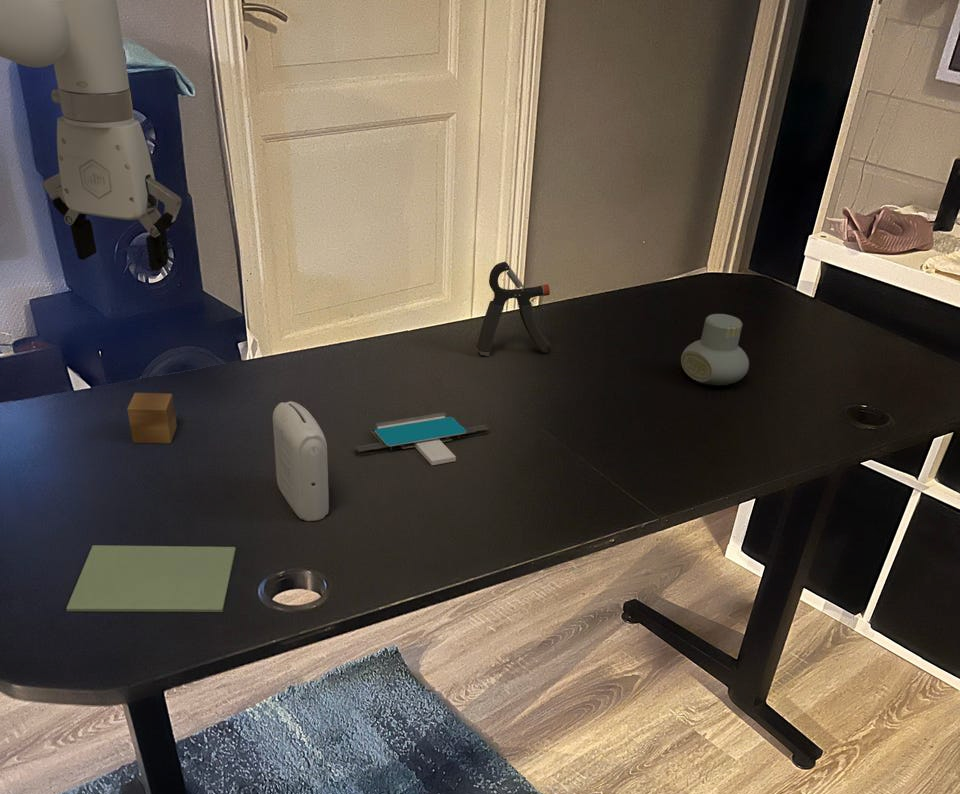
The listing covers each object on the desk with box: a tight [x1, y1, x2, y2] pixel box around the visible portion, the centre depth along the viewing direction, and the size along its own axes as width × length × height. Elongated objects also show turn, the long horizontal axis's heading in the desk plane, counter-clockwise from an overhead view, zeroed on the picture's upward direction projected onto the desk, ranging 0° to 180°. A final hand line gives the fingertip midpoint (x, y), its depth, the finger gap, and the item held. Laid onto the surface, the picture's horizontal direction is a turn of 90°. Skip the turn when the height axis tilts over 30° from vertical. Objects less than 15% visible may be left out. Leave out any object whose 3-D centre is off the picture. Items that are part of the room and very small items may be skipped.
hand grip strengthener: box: [476, 261, 552, 353], centre depth 158 cm, size 2×13×15 cm, turn 103°
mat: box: [65, 544, 237, 613], centre depth 107 cm, size 16×12×1 cm
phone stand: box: [354, 411, 490, 466], centre depth 135 cm, size 20×12×2 cm, turn 117°
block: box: [126, 392, 178, 445], centre depth 131 cm, size 5×5×5 cm
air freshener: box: [680, 313, 750, 386], centre depth 157 cm, size 11×8×10 cm
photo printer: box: [272, 400, 330, 522], centre depth 118 cm, size 10×4×12 cm, turn 28°
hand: (123, 261), depth 120 cm, fingers open, 9 cm apart
